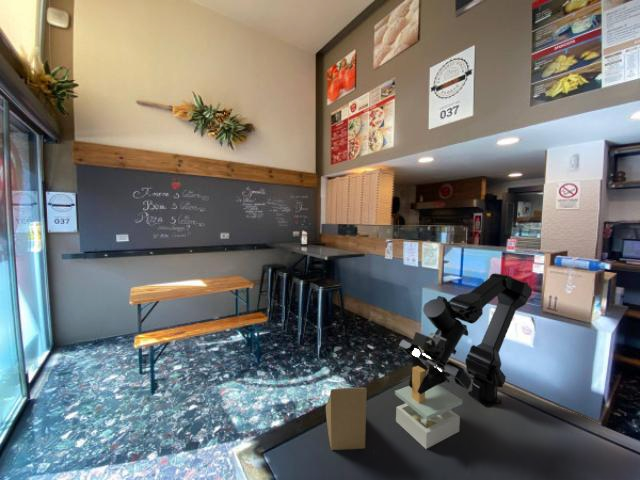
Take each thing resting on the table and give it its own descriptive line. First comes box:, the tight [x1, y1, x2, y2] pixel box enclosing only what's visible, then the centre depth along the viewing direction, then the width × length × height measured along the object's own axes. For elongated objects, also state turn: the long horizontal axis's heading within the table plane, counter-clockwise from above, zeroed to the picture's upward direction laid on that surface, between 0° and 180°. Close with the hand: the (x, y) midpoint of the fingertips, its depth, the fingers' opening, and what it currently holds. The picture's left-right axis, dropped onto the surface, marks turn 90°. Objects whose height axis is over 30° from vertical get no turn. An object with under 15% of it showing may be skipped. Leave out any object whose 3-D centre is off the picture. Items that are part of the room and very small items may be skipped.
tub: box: [395, 402, 461, 450], centre depth 71 cm, size 12×10×4 cm
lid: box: [394, 366, 463, 420], centre depth 70 cm, size 13×11×10 cm
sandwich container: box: [325, 387, 368, 451], centre depth 71 cm, size 9×15×15 cm, turn 4°
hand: (414, 389), depth 68 cm, fingers closed on lid, 2 cm apart
